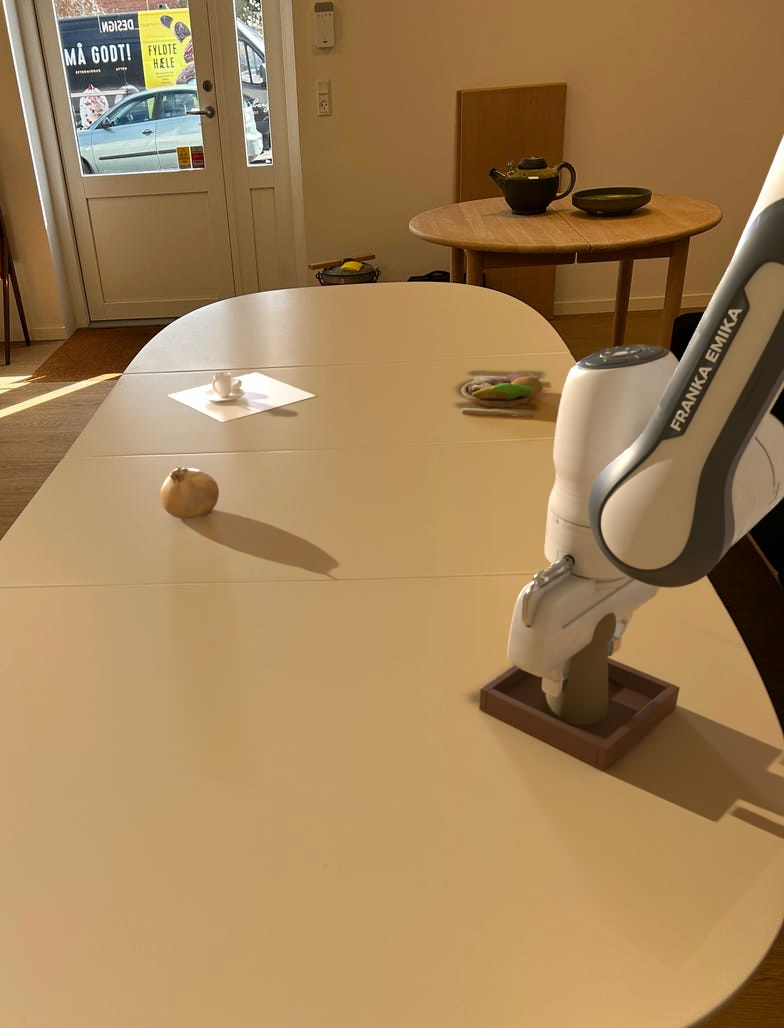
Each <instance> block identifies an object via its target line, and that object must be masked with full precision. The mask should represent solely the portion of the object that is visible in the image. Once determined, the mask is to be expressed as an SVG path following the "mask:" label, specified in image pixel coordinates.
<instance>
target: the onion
mask: <svg viewBox="0 0 784 1028" xmlns="http://www.w3.org/2000/svg"><path fill="white" fill-rule="evenodd" d="M219 495H220V490H219V485H218V483H217V482H216V480H215V478H214V477H212V475H210V474H209V473H207V472H205V471H203V470H201V469H197V468H191V467H190V468H185V467H180V466H177V467H176V468H174V469H173V470H170V473H169V475H168V476H167V477H166V478H165V480H164V482H163V484H162V485H161V488H160V492H159V497H160V502H161V505H162V507H163V509H164V510H165V511H166V512H167V513H168V514H169V515H170V516H172V517H174V518H175V519H176V518H177V519H183V520H192V519H196V518H199V517H200V518H204V517H205V516H208V515H211V514H212V513H213V512H214V509H215V507H216V505H217V504H218V500H219Z"/></svg>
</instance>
